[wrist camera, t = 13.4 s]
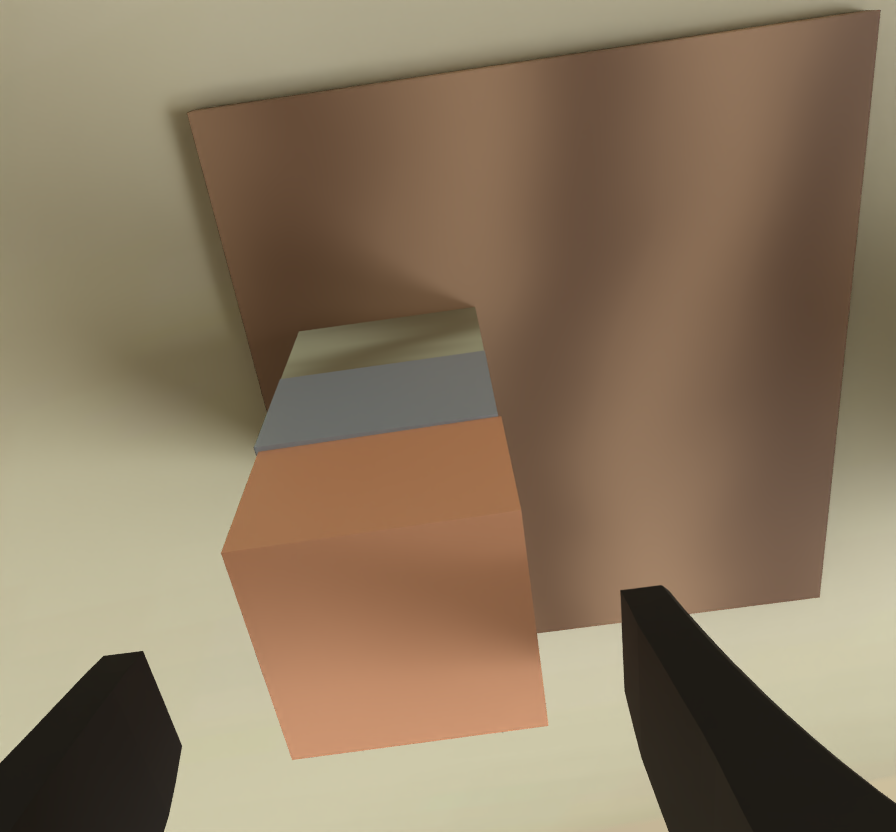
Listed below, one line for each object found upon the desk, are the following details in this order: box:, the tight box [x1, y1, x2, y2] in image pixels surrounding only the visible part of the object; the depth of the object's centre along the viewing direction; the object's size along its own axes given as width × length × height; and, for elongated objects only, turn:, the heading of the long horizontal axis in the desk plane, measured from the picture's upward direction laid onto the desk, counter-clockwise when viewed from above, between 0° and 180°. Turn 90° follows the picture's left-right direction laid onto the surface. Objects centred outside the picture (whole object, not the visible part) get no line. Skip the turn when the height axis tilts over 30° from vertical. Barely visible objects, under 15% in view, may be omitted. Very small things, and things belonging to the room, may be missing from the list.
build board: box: [187, 10, 881, 633], centre depth 19 cm, size 15×16×4 cm
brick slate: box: [254, 351, 498, 457], centre depth 16 cm, size 4×4×3 cm
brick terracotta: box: [221, 416, 548, 760], centre depth 14 cm, size 4×4×3 cm
